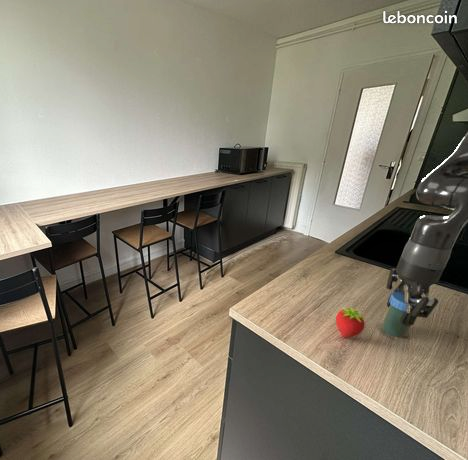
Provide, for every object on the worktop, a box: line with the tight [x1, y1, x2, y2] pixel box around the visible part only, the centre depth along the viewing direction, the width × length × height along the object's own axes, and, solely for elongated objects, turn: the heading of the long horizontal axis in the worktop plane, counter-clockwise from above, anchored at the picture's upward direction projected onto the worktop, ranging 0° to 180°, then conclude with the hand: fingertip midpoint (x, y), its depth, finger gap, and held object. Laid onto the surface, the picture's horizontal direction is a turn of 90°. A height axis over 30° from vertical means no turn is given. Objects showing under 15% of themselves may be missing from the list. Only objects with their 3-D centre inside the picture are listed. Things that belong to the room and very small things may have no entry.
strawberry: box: [335, 306, 367, 339], centre depth 65 cm, size 6×8×10 cm
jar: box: [381, 304, 412, 339], centre depth 66 cm, size 5×5×10 cm
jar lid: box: [388, 292, 418, 312], centre depth 64 cm, size 6×6×2 cm
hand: (398, 315), depth 66 cm, fingers closed on jar lid, 6 cm apart
